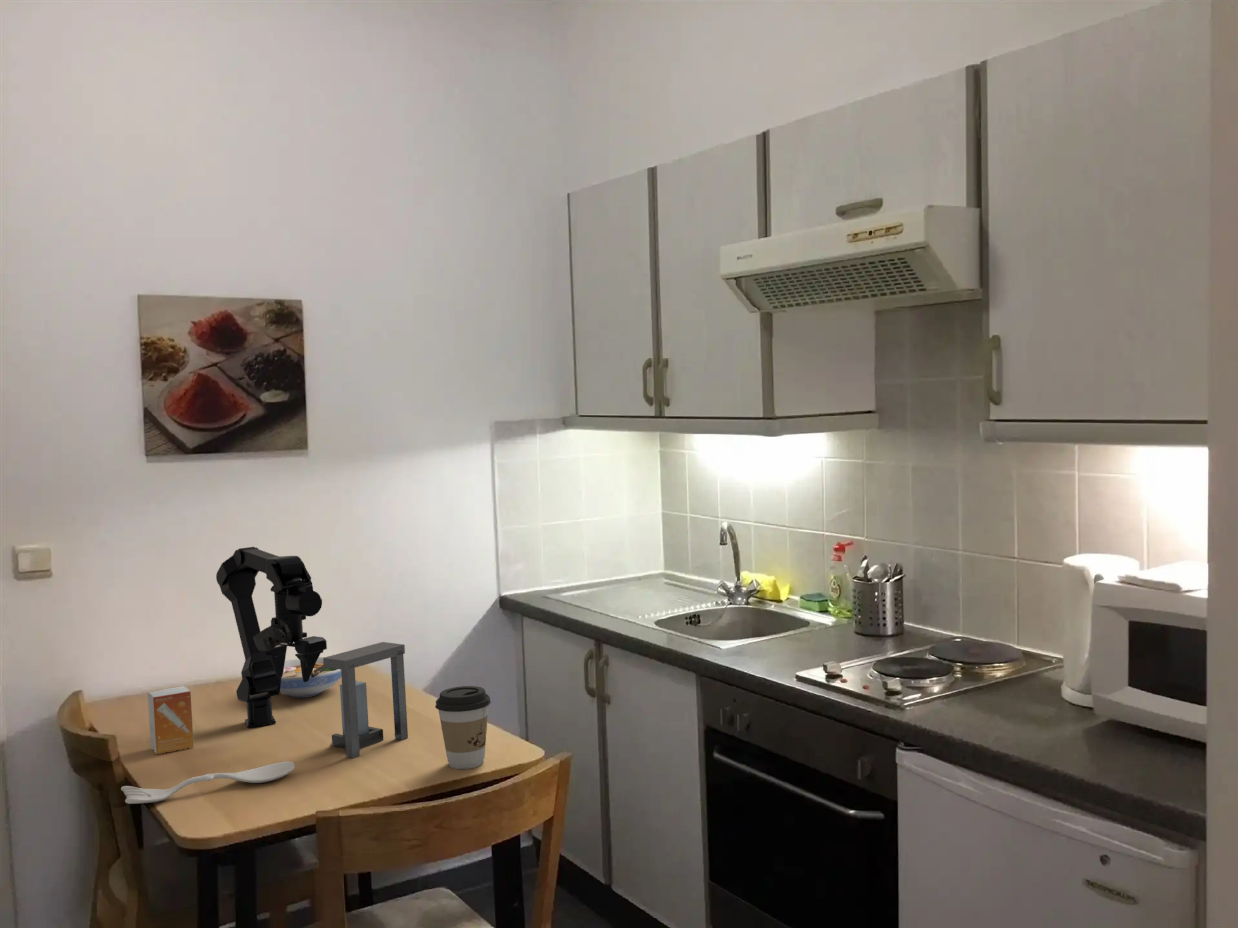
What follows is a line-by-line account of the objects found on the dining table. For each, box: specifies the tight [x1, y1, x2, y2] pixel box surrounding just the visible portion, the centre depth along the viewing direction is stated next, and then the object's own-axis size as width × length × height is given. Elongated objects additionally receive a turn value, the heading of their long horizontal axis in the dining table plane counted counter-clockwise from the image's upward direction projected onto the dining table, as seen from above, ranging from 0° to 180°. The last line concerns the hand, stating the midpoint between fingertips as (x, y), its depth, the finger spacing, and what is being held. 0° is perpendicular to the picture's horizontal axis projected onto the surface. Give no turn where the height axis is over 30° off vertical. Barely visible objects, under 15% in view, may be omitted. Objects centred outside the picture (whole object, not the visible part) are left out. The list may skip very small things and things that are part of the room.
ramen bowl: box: [280, 656, 342, 699], centre depth 289 cm, size 25×23×8 cm
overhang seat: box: [323, 641, 409, 759], centre depth 242 cm, size 12×17×21 cm
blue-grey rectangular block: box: [339, 680, 370, 735], centre depth 243 cm, size 4×4×13 cm
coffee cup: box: [435, 685, 492, 770], centre depth 225 cm, size 11×11×15 cm
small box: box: [147, 685, 195, 755], centre depth 245 cm, size 8×6×13 cm
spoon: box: [120, 761, 296, 805], centre depth 216 cm, size 9×32×4 cm, turn 119°
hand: (292, 679), depth 250 cm, fingers open, 9 cm apart
